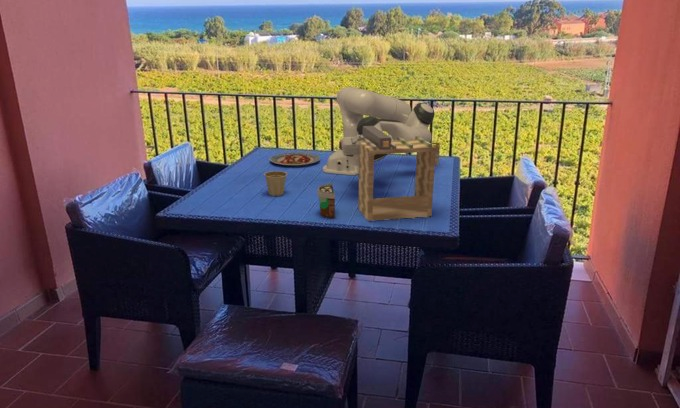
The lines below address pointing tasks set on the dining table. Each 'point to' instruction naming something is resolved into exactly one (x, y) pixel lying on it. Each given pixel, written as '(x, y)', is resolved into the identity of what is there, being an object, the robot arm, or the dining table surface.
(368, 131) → the grey brown bar
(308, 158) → the ceramic plate
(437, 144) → the crayon box
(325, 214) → the food container
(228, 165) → the dining table surface
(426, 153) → the pine shelf
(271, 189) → the flower pot
